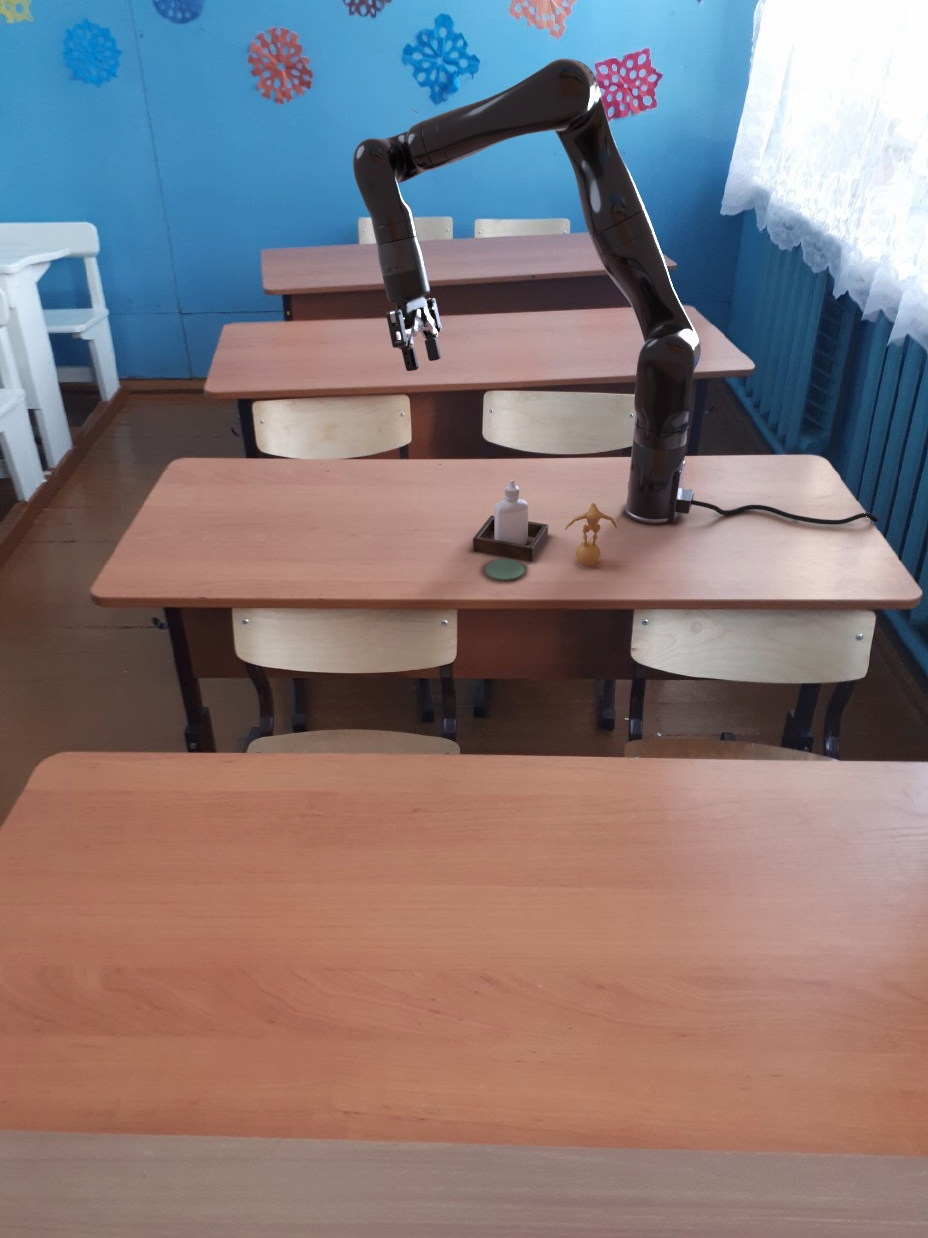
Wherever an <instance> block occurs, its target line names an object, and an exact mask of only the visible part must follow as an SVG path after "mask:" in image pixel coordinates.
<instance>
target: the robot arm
mask: <svg viewBox="0 0 928 1238" xmlns="http://www.w3.org/2000/svg"><path fill="white" fill-rule="evenodd" d="M601 93H602V92H601V89H600V86H599V82H598V80H597V78H596V76H595V73H594V72H593V70H592V69H591V68H590V67H589V66H588V64H587V65H586V63H584V62H582V61H580V60H576V59H570V58H558V59H555V60H554V59H553V61H550V62H549V63H547V64H546V65H545V66H543V67H542V68H541V69H538V70H537V71H536V72H534V73H533V74H531V75H529V76H528V77H526V78H524V79H522V80H521V81H519V82H517V83H516V84H514V85H512V86H510V87H509V88H506V89H504V90H502V91H501V92H498V93H496V94H494V95H491V96H489V97H486V98H484V99H481V100H479V101H475V102H472V103H469V104H466V105H463V106H460V107H457V108H454V109H450V110H448V111H445V112H443V113H439V114H437V115H434V116H432V117H430V118H427V119H424V120H421V121H419V122H417V123H415V124H413V125H412V126H410V128H409V129H408V130H407V131H403V132H402V133H398V134H396V135H394V136H390V137H386V138H378V137H377V138H373V137H372V138H371V137H370V138H365V139H364V140H362V141H361V142H359V143H358V145H356V147H355V149H354V152H353V156H352V170H353V176H354V179H355V183H356V185H357V189H358V192H359V193H360V196H361V198H362V201H363V203H364V206H365V208H366V210H367V212H368V214H369V217H370V220H371V226H372V228H373V229H372V230H373V234H374V239H375V243H376V245H377V246H376V248H377V257H378V262H379V263H378V264H379V268H380V272H381V276H382V281H383V285H384V289H385V294H386V298H387V301H388V302H389V303H394V304H395V309H394V310H388V311H386V313H385V316H386V321H387V326H388V331H389V336H390V341H391V345H392V348H394V349H398V350H400V351H401V354H402V358H403V359H402V360H403V362H404V366H405V370H406V371H407V372H413V371H417V370H418V369H419V362H418V358H417V353H416V348H415V347H414V346H415V345H414V344H415V338H416V336H418V332H419V333H420V334H421V336H422V337H423V338H424V339H425V340H424V345H425V350H426V355H427V358H428V361H430V362H434V361H438V360H441V351H440V348H439V347H440V346H439V342H438V337H439V333H442V331H443V327H442V323H441V322H442V321H441V318H440V314H439V310H438V305H437V300H436V298H435V297H431V298H426V297H425V296H427V295H429V294H430V293H431V287H430V283H429V279H428V273H427V269H426V264H425V259H424V254H423V250H422V245H421V244H420V241H419V238H418V232H417V228H416V223H415V218H414V213H413V210H412V208H411V207H412V206H411V205H410V203H408V202H407V201H406V200H405V199H403V197H402V194H401V190H400V188H399V185H400V184H402V183H404V182H407V181H409V180H411V179H414V178H416V177H418V176H420V175H421V174H423V173H425V172H429V171H434V170H436V169H439V168H442V167H445V166H448V165H451V164H453V163H456V162H459V161H461V160H464V159H466V158H469V157H471V156H474V155H475V154H479V153H480V152H483V151H484V150H486V149H488V148H491V147H492V146H494V145H497V144H499V143H502V142H505V141H508V140H510V139H515V138H518V137H521V136H526V135H530V134H531V135H532V134H536V133H544V132H550V131H551V132H552V131H554V132H555V133H556V135H557V137H558V139H559V141H560V143H561V145H562V147H563V149H564V151H565V153H566V155H567V157H568V160H569V163H570V165H571V167H572V170H573V174H574V177H575V180H576V186H577V191H578V197H579V201H580V206H581V211H582V215H583V219H584V222H585V225H586V230H587V232H588V235H589V238H590V239H591V242H592V244H593V247H594V249H595V252H596V254H597V256H598V259H599V261H600V263H601V264H602V266H603V268H604V270H605V272H606V274H607V275H608V276H609V278H610V279H611V280H612V282H613V284H615V286H616V287H617V288H618V289H619V291H620V292H621V293H622V294H623V296H624V297H625V298H626V300H627V301H628V303H629V304H630V306H631V308H632V311H633V312H634V316H635V317H636V319H637V323H638V326H639V329H640V331H641V334H642V338H643V343H644V344H643V345H642V347H641V349H640V351H639V353H638V357H637V363H636V371H635V385H634V397H633V398H634V399H633V408H634V413H635V415H634V424H633V435H632V445H631V454H630V455H631V456H630V467H629V474H628V475H629V476H628V483H627V496H626V504H625V514H626V515H627V516H628V517H629V518H630V519H632V520H634V521H636V522H640V523H643V524H649V525H650V524H651V525H659V524H674V523H675V521H676V519H677V517H678V516H679V515H678V514H680V513H681V514H685V515H686V514H687V515H688V514H689V513H690V511H691V508H692V506H697V507H701V508H705V509H709V510H712V511H714V512H716V513H718V514H719V515H723V516H732V515H735V514H739V513H742V512H745V511H749V510H759V511H766V512H770V513H773V514H776V515H778V516H781V517H784V518H787V519H791V520H794V521H799V522H805V523H811V524H817V525H818V524H819V525H832V526H833V525H834V526H835V525H836V526H837V525H845V524H849V523H851V522H854V521H857V520H859V519H864V518H867V519H870V520H871V521H873V522H879V519H878V517H877V516H875V515H874V514H873V513H870V512H861V513H857V514H855V515H852V516H849V517H846V518H841V519H826V518H825V519H824V518H823V519H822V518H816V517H809V516H803V515H799V514H793V513H790V512H787V511H784V510H781V509H779V508H776V507H772V506H770V505H769V506H768V505H764V504H747V505H743V506H741V507H737V508H736V507H735V508H734V509H722V508H720V507H719V506H717V505H715V504H712V503H708V502H705V501H699V500H695V499H694V498H695V497H694V496H695V489H689V488H683V484H684V477H685V470H686V461H685V459H686V458H685V457H686V452H687V451H686V450H687V443H688V436H689V429H690V428H689V427H690V422H691V421H690V420H691V409H690V408H691V407H690V405H691V395H692V387H693V380H694V373H695V370H696V368H697V366H698V364H699V363H700V359H701V355H702V348H701V341H700V339H699V336H698V334H697V331H696V330H695V328H694V326H693V324H692V323H691V321H690V319H689V317H688V315H687V313H686V311H685V309H684V307H683V305H682V303H681V302H680V300H679V298H678V295H677V293H676V291H675V289H674V287H673V283H672V281H671V277H670V274H669V271H668V268H667V265H666V262H665V259H664V255H663V253H662V250H661V248H660V245H659V242H658V239H657V236H656V234H655V230H654V227H653V225H652V222H651V220H650V217H649V215H648V212H647V210H646V207H645V204H644V202H643V200H642V198H641V196H640V193H639V191H638V189H637V187H636V184H635V182H634V180H633V177H632V176H631V173H630V171H629V168H628V167H627V165H626V163H625V161H624V159H623V157H622V156H621V153H620V151H619V149H618V146H617V144H616V141H615V138H614V135H613V132H612V129H611V126H610V122H609V118H608V116H607V112H606V108H605V105H604V100H603V97H602V94H601ZM397 336H398V337H397ZM864 513H865V514H864ZM866 516H867V517H866Z"/></svg>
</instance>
